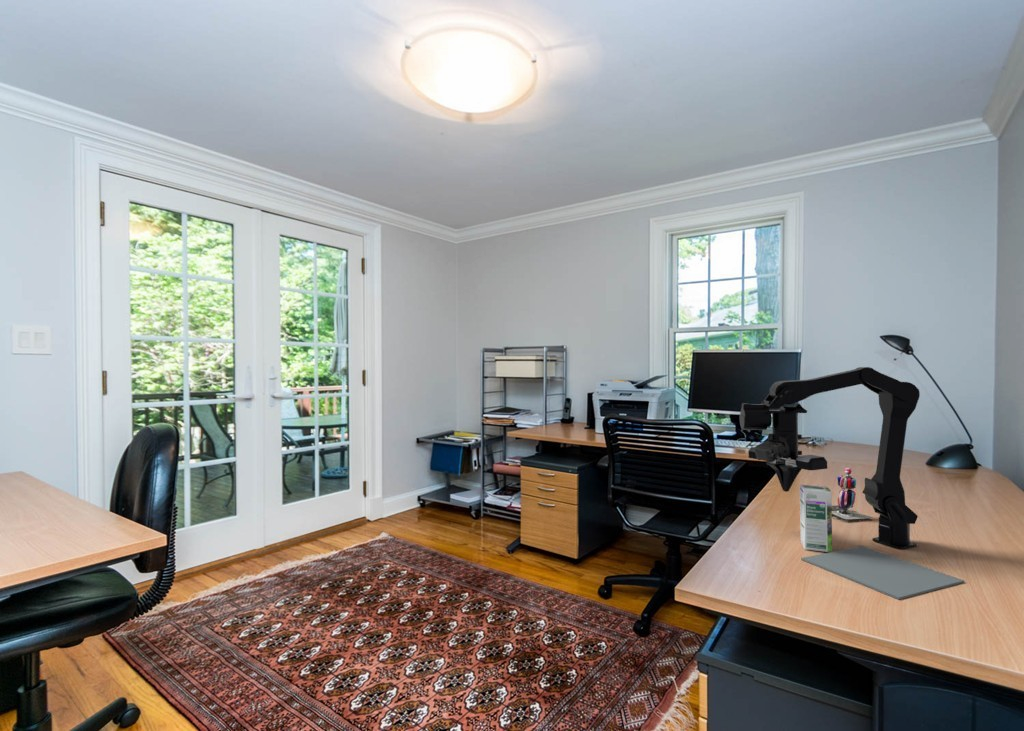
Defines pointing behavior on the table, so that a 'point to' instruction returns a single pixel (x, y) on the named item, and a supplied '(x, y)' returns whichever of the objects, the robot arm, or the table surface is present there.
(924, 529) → the table surface
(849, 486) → the statue
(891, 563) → the topple mat
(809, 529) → the syrup box
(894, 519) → the robot arm
